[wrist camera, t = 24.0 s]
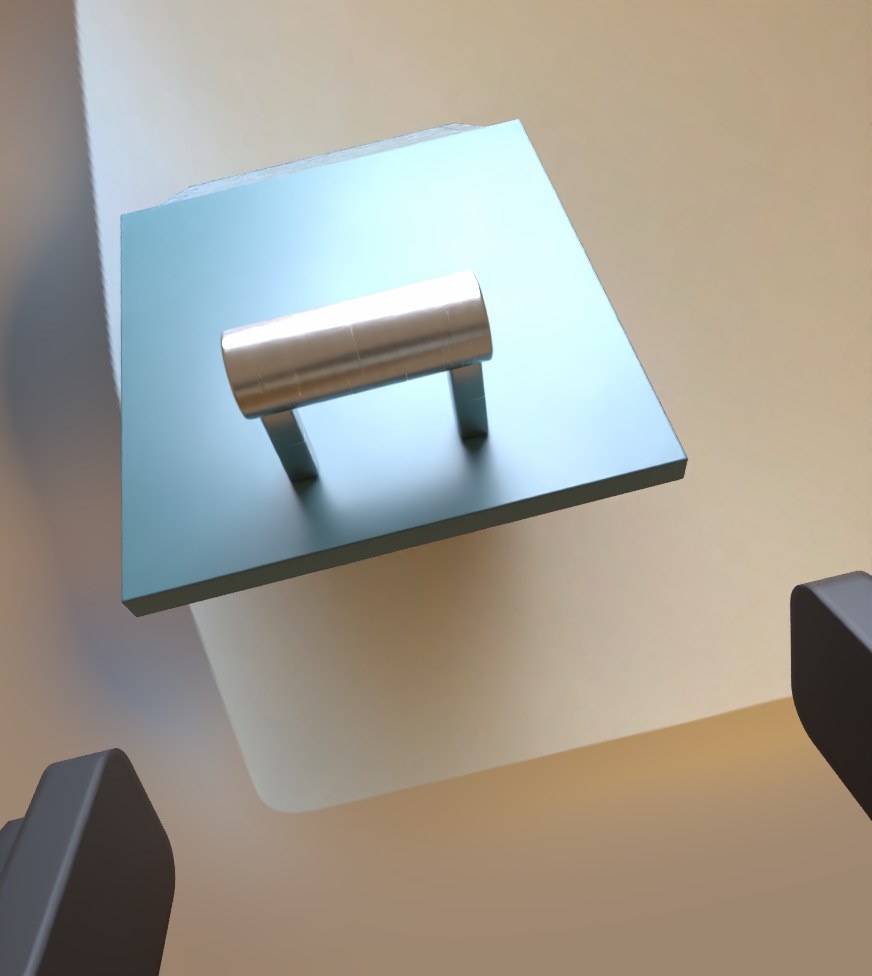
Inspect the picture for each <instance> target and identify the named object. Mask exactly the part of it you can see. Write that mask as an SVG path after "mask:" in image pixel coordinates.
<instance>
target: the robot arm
mask: <svg viewBox="0 0 872 976" xmlns="http://www.w3.org/2000/svg"><path fill="white" fill-rule="evenodd" d="M790 621H791V687H792V695H793V700H794V704H795V707H796V710H797V713H798V716H799V718H800V721H801V723H802V725H803V727H804V729H805V731H806V732H807V734H808V736H809V738H810V739H811V740H812V742H813V743H814V745H815V746H816V747H817V749H818V750H819V751H820V753H821V754H822V755H823V756H824V758H825V759H826V761H827V762H828V763H829V764H830V766H831V767H832V769H833V770H834V771H835V772H836V774H837V775H838V776H839V778H840V779H841V781H842V782H843V783H844V785H845V786H846V787H847V789H848V790H849V791H850V792H851V794H852V795H853V796H854V798H855V799H856V800H857V802H858V803H859V804H860V806H861V807H862V808H863V810H864V811H865V812H866V814H867V815H868V816H869V818H870V819H871V820H872V576H871V575H869V574H868V573H866V572H863V571H855V572H851V573H846V574H842V575H838V576H834V577H830V578H826V579H822V580H818V581H813V582H809V583H805V584H801V585H797V586H796V587H795V588H794V589H793V591H792V593H791V600H790ZM174 890H175V866H174V858H173V853H172V848H171V845H170V841H169V839H168V836H167V834H166V832H165V830H164V828H163V826H162V824H161V822H160V820H159V818H158V816H157V814H156V812H155V810H154V808H153V806H152V804H151V802H150V800H149V798H148V796H147V794H146V792H145V790H144V788H143V786H142V784H141V782H140V780H139V778H138V776H137V774H136V772H135V770H134V768H133V765H132V764H131V762H130V760H129V758H128V756H127V755H126V754H125V753H124V752H123V751H122V750H120V749H118V748H114V749H110V750H106V751H102V752H98V753H94V754H90V755H86V756H81V757H77V758H73V759H69V760H64V761H60V762H56V763H53V764H51V765H49V766H48V767H47V768H46V770H45V771H44V773H43V775H42V776H41V779H40V781H39V784H38V786H37V788H36V791H35V794H34V796H33V798H32V800H31V803H30V805H29V808H28V810H27V812H26V815H25V817H24V818H20V819H16V820H12V821H8V822H7V823H6V825H5V826H4V827H3V828H2V829H1V831H0V976H158V975H159V970H160V965H161V960H162V955H163V949H164V944H165V939H166V934H167V929H168V923H169V918H170V913H171V907H172V902H173V897H174Z"/></svg>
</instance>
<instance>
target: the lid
mask: <svg viewBox="0 0 872 976" xmlns="http://www.w3.org/2000/svg"><path fill="white" fill-rule="evenodd" d="M687 461H688V458H687V456H686V454H685V452H684V450H683V448H682V446H681V444H680V442H679V440H678V438H677V436H676V434H675V432H674V430H673V428H672V426H671V424H670V422H669V420H668V418H667V416H666V413H665V411H664V409H663V407H662V405H661V403H660V401H659V399H658V397H657V395H656V393H655V391H654V389H653V387H652V385H651V383H650V381H649V379H648V377H647V375H646V373H645V371H644V369H643V367H642V365H641V363H640V361H639V359H638V357H637V355H636V353H635V351H634V349H633V347H632V345H631V343H630V341H629V339H628V337H627V335H626V333H625V331H624V329H623V327H622V325H621V323H620V321H619V319H618V317H617V315H616V313H615V311H614V309H613V307H612V305H611V303H610V301H609V299H608V297H607V295H606V293H605V291H604V289H603V287H602V285H601V283H600V280H599V278H598V276H597V274H596V272H595V270H594V268H593V266H592V264H591V262H590V260H589V258H588V256H587V254H586V252H585V250H584V248H583V246H582V244H581V242H580V240H579V238H578V236H577V234H576V232H575V230H574V228H573V226H572V224H571V222H570V220H569V218H568V216H567V214H566V212H565V210H564V208H563V206H562V204H561V202H560V200H559V198H558V196H557V194H556V192H555V190H554V188H553V186H552V184H551V182H550V180H549V178H548V176H547V174H546V172H545V170H544V168H543V166H542V164H541V162H540V160H539V158H538V156H537V154H536V152H535V150H534V147H533V145H532V143H531V141H530V139H529V137H528V135H527V133H526V131H525V129H524V127H523V125H522V123H521V121H520V119H517V120H513V121H509V122H504V123H500V124H496V125H492V126H488V127H484V128H480V129H475V130H471V131H467V132H463V133H459V134H455V135H451V136H446V137H442V138H438V139H434V140H430V141H426V142H422V143H417V144H413V145H409V146H405V147H401V148H397V149H393V150H388V151H384V152H380V153H376V154H372V155H368V156H364V157H360V158H355V159H351V160H347V161H343V162H339V163H335V164H331V165H326V166H322V167H318V168H314V169H310V170H306V171H302V172H297V173H293V174H289V175H285V176H281V177H277V178H273V179H268V180H264V181H260V182H256V183H252V184H248V185H244V186H239V187H235V188H231V189H227V190H223V191H219V192H215V193H210V194H206V195H202V196H198V197H194V198H190V199H186V200H181V201H177V202H173V203H169V204H165V205H161V206H157V207H152V208H148V209H144V210H140V211H136V212H132V213H128V214H124V215H121V483H122V484H121V486H122V487H121V490H122V491H121V492H122V494H121V496H122V498H121V502H122V503H121V505H122V507H121V514H122V515H121V520H122V603H123V604H124V605H125V606H126V607H127V608H128V609H129V610H130V611H131V612H132V613H133V614H134V615H135V616H136V617H140V616H144V615H147V614H151V613H155V612H159V611H163V610H167V609H171V608H175V607H179V606H183V605H186V604H191V603H195V602H199V601H203V600H207V599H211V598H215V597H218V596H222V595H226V594H230V593H234V592H238V591H242V590H246V589H250V588H254V587H258V586H262V585H266V584H270V583H274V582H278V581H282V580H285V579H289V578H293V577H297V576H301V575H305V574H309V573H313V572H317V571H321V570H325V569H329V568H333V567H337V566H341V565H345V564H349V563H352V562H356V561H360V560H364V559H368V558H372V557H376V556H380V555H384V554H388V553H392V552H396V551H400V550H404V549H408V548H412V547H416V546H419V545H423V544H427V543H431V542H435V541H439V540H443V539H447V538H451V537H455V536H459V535H463V534H467V533H471V532H475V531H479V530H483V529H486V528H490V527H494V526H498V525H502V524H506V523H510V522H514V521H518V520H522V519H526V518H530V517H534V516H538V515H542V514H546V513H550V512H553V511H557V510H561V509H565V508H569V507H573V506H577V505H581V504H585V503H589V502H593V501H597V500H601V499H605V498H609V497H613V496H617V495H621V494H624V493H628V492H632V491H636V490H640V489H644V488H648V487H652V486H656V485H660V484H664V483H668V482H672V481H676V480H680V479H683V478H684V474H685V469H686V465H687Z"/></svg>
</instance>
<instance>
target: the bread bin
mask: <svg viewBox="0 0 872 976" xmlns="http://www.w3.org/2000/svg"><path fill="white" fill-rule="evenodd" d="M484 127H485V126H476V125H467V124H458V123H452V124H447V125H443V126H439V127H435V128H431V129H427V130H423V131H418V132H414V133H410V134H406V135H402V136H398V137H394V138H389V139H385V140H381V141H377V142H373V143H369V144H365V145H360V146H356V147H352V148H348V149H344V150H340V151H336V152H331V153H327V154H323V155H319V156H315V157H311V158H307V159H302V160H298V161H294V162H290V163H286V164H282V165H277V166H273V167H269V168H265V169H261V170H257V171H253V172H248V173H244V174H240V175H236V176H232V177H228V178H224V179H219V180H215V181H211V182H207V183H203V184H199V185H195V186H190V187H189V188H187V189H186V190H184V191H182V192H181V193H179V194H178V195H176V196H174V197H173V198H171V199H169V200H168V201H166V202H165V203H163V204H161V205H165V204H169V203H173V202H177V201H181V200H186V199H190V198H194V197H198V196H202V195H206V194H210V193H215V192H219V191H223V190H227V189H231V188H235V187H239V186H244V185H248V184H252V183H256V182H260V181H264V180H268V179H273V178H277V177H281V176H285V175H289V174H293V173H297V172H302V171H306V170H310V169H314V168H318V167H322V166H326V165H331V164H335V163H339V162H343V161H347V160H351V159H355V158H360V157H364V156H368V155H372V154H376V153H380V152H384V151H388V150H393V149H397V148H401V147H405V146H409V145H413V144H417V143H422V142H426V141H430V140H434V139H438V138H442V137H446V136H451V135H455V134H459V133H463V132H467V131H471V130H475V129H480V128H484ZM161 205H160V206H161Z"/></svg>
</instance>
